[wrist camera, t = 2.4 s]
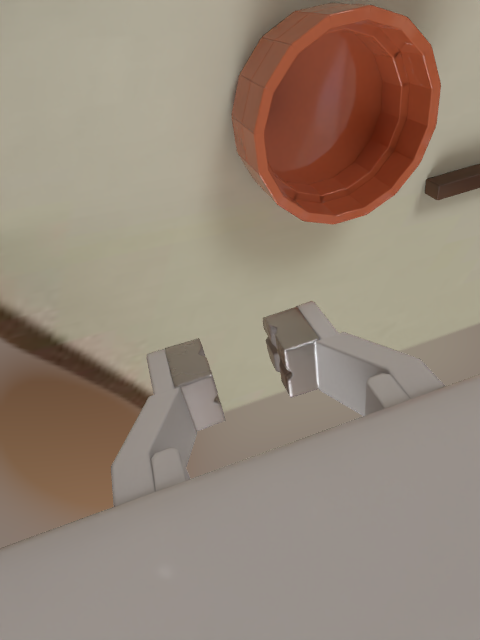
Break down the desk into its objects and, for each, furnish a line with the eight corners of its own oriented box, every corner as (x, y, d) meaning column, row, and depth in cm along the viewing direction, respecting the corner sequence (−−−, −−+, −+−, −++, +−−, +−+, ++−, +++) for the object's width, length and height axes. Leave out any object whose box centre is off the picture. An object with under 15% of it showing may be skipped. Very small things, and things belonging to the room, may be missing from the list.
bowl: (214, 27, 25) (240, 34, 21) (396, -14, 26) (452, -15, 22) (244, 213, 32) (268, 244, 28) (387, 172, 33) (428, 196, 29)
